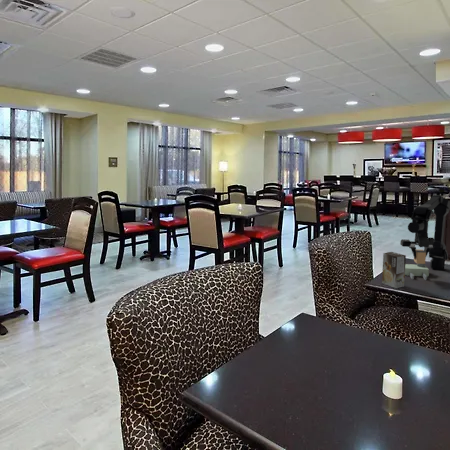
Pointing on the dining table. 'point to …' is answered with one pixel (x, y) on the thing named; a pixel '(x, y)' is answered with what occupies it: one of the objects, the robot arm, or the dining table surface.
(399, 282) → the coffee box
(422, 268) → the mower deck
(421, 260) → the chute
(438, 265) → the robot arm
